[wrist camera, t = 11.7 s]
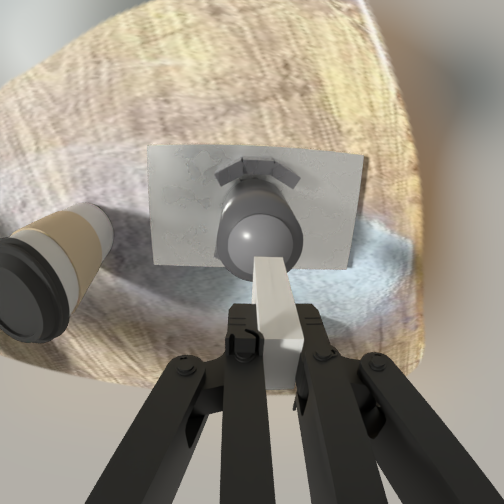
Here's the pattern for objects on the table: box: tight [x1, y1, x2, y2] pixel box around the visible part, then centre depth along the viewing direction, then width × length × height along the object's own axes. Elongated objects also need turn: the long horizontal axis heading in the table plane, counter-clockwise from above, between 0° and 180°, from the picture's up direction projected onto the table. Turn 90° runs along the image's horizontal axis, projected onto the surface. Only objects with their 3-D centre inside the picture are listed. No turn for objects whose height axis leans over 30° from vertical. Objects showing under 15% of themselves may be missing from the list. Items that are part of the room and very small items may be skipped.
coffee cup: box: [0, 203, 114, 343], centre depth 23 cm, size 9×9×15 cm
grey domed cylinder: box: [216, 179, 303, 282], centre depth 25 cm, size 6×6×8 cm
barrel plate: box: [147, 144, 364, 270], centre depth 28 cm, size 20×12×4 cm, turn 87°
